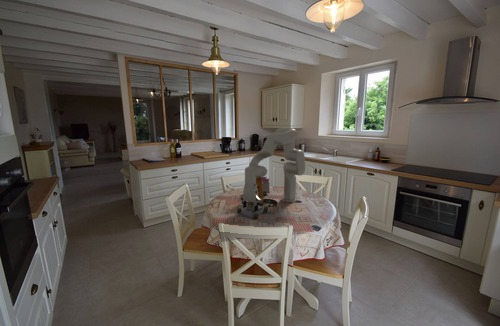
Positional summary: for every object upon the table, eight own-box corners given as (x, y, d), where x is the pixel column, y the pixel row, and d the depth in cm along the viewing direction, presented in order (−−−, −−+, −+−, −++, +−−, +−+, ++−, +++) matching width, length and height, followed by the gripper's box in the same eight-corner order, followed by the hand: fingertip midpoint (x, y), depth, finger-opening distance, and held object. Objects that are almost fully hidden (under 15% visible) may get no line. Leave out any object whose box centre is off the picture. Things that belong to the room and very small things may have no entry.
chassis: (251, 206, 168) (251, 201, 167) (268, 211, 159) (268, 205, 158) (236, 214, 153) (236, 209, 153) (254, 220, 145) (254, 214, 144)
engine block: (250, 210, 157) (250, 203, 156) (255, 212, 155) (255, 205, 154) (245, 213, 153) (245, 206, 152) (250, 215, 150) (250, 208, 149)
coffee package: (261, 206, 169) (261, 178, 164) (245, 204, 172) (245, 176, 168) (264, 201, 178) (265, 174, 173) (249, 199, 182) (249, 173, 177)
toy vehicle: (245, 194, 195) (245, 177, 192) (266, 192, 201) (266, 176, 198) (248, 197, 187) (248, 180, 184) (269, 195, 192) (270, 178, 189)
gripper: (264, 186, 148) (263, 210, 151) (243, 181, 158) (243, 204, 161) (258, 188, 142) (257, 213, 145) (236, 184, 152) (237, 207, 155)
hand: (250, 208), depth 153 cm, fingers open, 9 cm apart
